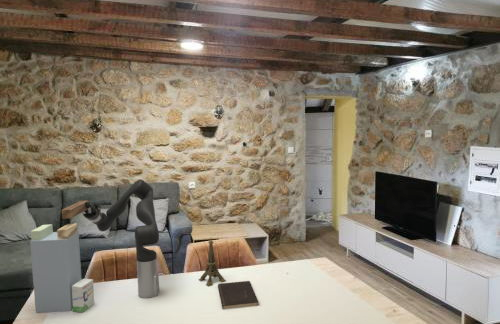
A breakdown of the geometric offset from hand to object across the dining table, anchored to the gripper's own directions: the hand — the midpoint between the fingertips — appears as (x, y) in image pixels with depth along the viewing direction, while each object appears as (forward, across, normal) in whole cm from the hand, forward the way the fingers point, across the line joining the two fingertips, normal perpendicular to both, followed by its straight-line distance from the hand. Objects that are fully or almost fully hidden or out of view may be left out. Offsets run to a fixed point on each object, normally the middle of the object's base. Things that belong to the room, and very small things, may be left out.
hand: (81, 203), depth 184 cm
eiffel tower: (-20, +64, +38) cm, 77 cm away
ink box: (0, +8, +49) cm, 50 cm away
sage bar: (+13, -10, +19) cm, 25 cm away
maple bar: (+13, +2, +19) cm, 23 cm away
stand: (-3, -4, +47) cm, 47 cm away
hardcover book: (-4, +76, +48) cm, 90 cm away
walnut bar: (+4, 0, +6) cm, 7 cm away
